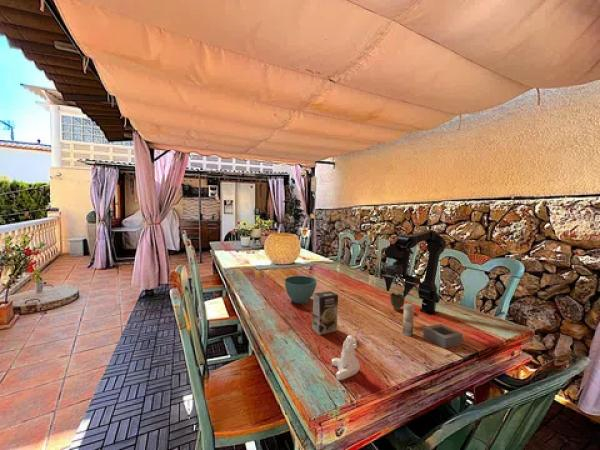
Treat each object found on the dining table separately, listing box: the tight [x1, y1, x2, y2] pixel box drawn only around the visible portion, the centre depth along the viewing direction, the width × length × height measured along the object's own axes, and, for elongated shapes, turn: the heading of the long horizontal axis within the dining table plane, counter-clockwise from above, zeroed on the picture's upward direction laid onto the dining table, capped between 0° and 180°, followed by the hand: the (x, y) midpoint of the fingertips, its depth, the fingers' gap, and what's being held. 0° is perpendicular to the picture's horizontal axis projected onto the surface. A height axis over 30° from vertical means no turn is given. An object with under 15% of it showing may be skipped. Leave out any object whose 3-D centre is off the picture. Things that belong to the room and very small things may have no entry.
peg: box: [402, 303, 415, 337], centre depth 111 cm, size 4×4×12 cm
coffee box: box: [311, 291, 339, 336], centre depth 112 cm, size 9×6×16 cm
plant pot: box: [284, 275, 317, 304], centre depth 148 cm, size 18×18×12 cm
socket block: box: [422, 323, 464, 349], centre depth 106 cm, size 10×10×4 cm
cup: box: [389, 292, 406, 311], centre depth 138 cm, size 8×7×8 cm
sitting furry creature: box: [331, 334, 361, 381], centre depth 84 cm, size 10×9×12 cm
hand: (395, 294), depth 122 cm, fingers open, 9 cm apart
